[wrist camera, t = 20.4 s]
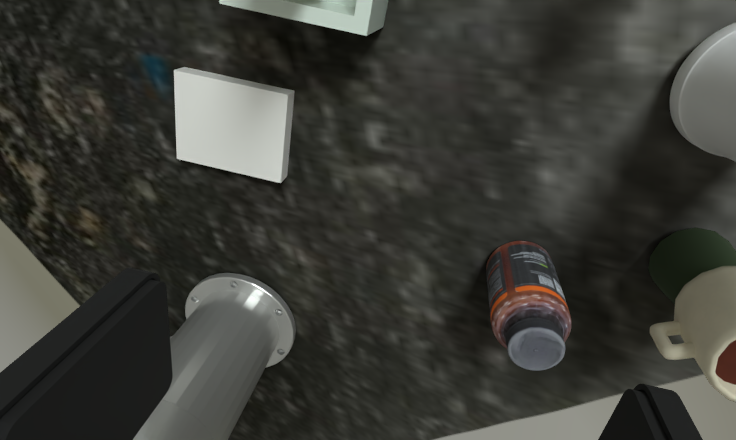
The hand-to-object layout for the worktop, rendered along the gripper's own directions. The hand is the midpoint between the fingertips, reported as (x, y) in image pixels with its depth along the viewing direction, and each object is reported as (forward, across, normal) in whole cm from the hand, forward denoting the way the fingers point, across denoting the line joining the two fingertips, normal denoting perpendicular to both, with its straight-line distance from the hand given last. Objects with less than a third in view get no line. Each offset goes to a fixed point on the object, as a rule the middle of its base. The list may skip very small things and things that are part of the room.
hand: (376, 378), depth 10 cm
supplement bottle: (+32, -10, +14) cm, 37 cm away
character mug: (+32, -23, +10) cm, 41 cm away
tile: (+31, +12, +6) cm, 34 cm away
